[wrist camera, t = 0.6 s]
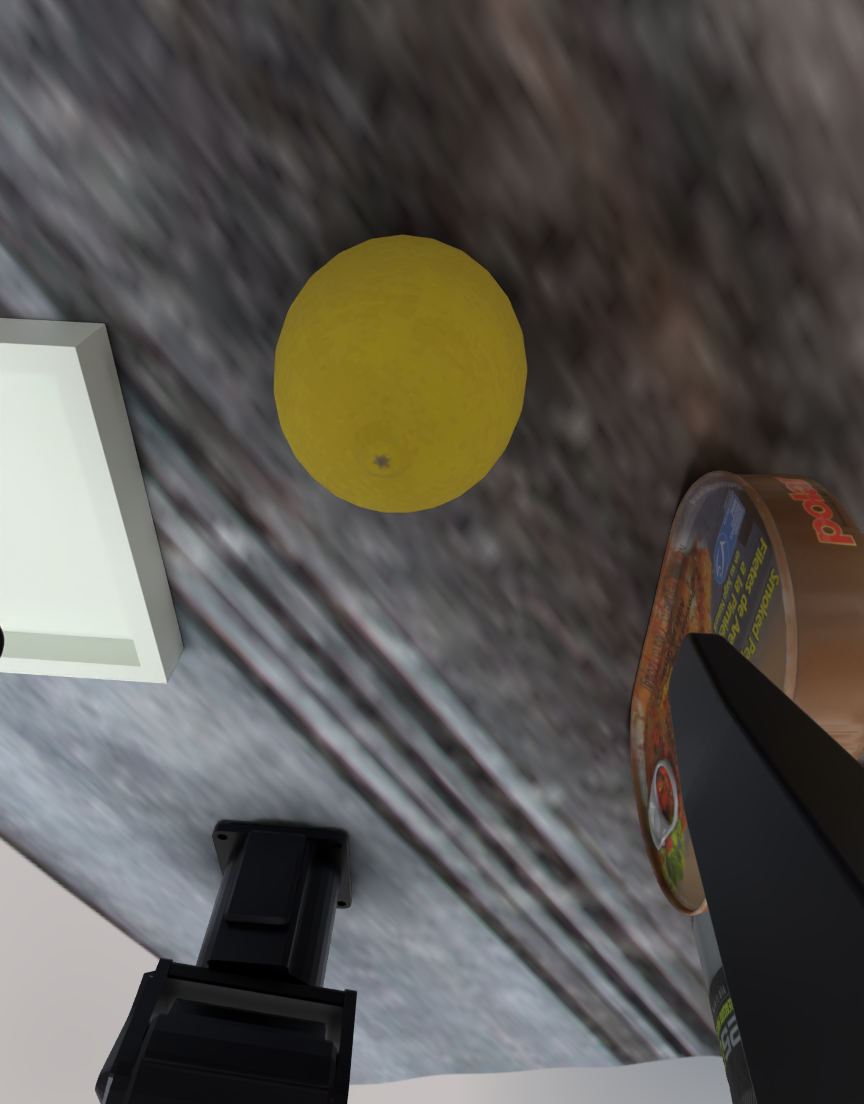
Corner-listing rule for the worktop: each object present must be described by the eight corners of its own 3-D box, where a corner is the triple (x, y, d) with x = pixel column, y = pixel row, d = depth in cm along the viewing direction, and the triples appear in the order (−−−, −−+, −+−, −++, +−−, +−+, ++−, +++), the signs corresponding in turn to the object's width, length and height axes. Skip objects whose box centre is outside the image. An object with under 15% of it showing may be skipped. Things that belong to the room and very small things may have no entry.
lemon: (276, 327, 20) (175, 474, 13) (397, 150, 17) (343, 227, 10) (432, 444, 21) (409, 622, 15) (563, 301, 19) (604, 446, 12)
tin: (696, 417, 20) (800, 609, 14) (807, 419, 20) (968, 616, 14) (617, 749, 29) (656, 964, 23) (694, 752, 29) (757, 970, 23)
